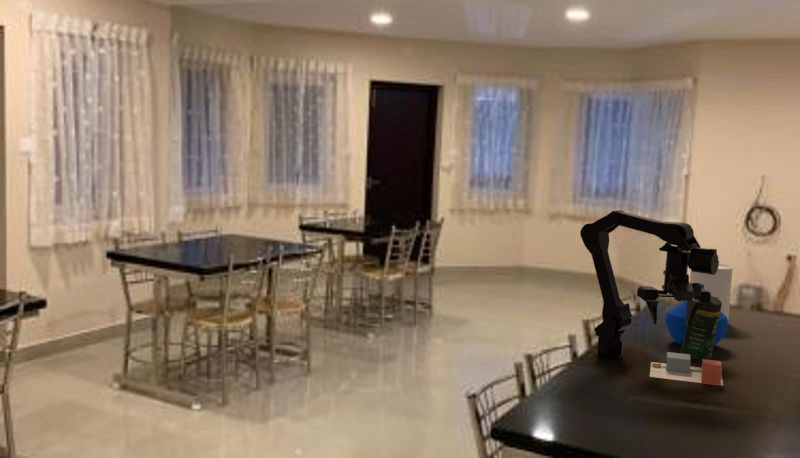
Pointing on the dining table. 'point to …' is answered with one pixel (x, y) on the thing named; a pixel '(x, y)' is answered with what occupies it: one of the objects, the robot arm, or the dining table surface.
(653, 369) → the panel
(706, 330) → the coffee jar
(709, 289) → the canister
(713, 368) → the cap
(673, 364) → the breaker toggle
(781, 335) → the dining table surface
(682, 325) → the vase
